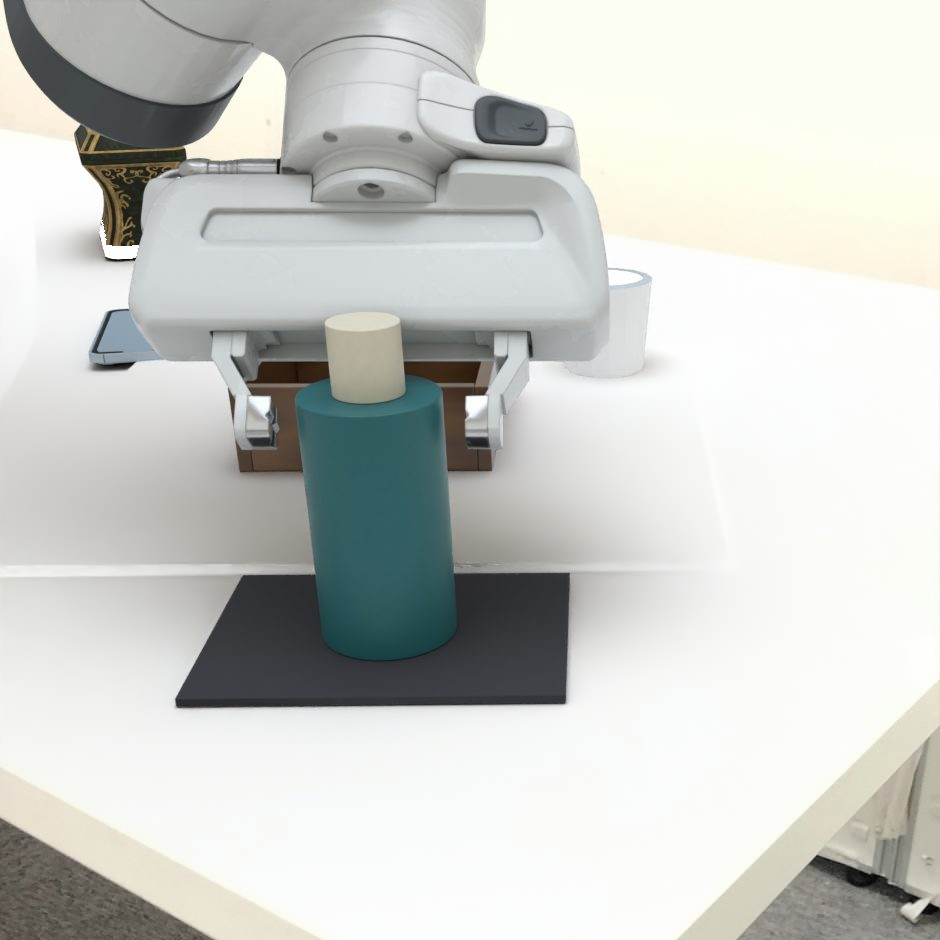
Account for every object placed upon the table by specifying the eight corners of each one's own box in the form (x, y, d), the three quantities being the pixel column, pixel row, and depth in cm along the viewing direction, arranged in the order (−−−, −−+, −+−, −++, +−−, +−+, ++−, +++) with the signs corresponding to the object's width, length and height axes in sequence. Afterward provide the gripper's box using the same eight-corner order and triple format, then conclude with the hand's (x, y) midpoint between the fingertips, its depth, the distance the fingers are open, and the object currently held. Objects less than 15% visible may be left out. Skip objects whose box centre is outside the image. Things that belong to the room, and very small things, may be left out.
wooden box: (240, 481, 77) (227, 387, 75) (290, 403, 90) (281, 321, 88) (492, 480, 78) (488, 386, 75) (506, 402, 91) (503, 320, 88)
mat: (176, 707, 55) (174, 698, 54) (243, 581, 65) (242, 574, 65) (565, 703, 55) (565, 694, 55) (569, 579, 66) (569, 572, 66)
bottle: (311, 662, 57) (271, 340, 51) (334, 600, 63) (301, 302, 56) (450, 661, 57) (429, 340, 51) (462, 599, 63) (444, 302, 56)
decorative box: (204, 258, 130) (173, 37, 121) (99, 266, 127) (59, 39, 117) (183, 222, 146) (154, 25, 137) (90, 228, 143) (54, 26, 134)
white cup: (668, 379, 96) (670, 281, 92) (584, 393, 93) (582, 291, 89) (622, 356, 101) (622, 262, 98) (541, 368, 98) (538, 271, 95)
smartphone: (200, 305, 110) (193, 349, 97) (201, 316, 111) (194, 362, 98) (105, 309, 109) (86, 355, 96) (107, 321, 109) (88, 368, 96)
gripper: (123, 112, 56) (89, 409, 52) (609, 115, 57) (612, 408, 53) (169, 203, 62) (142, 476, 58) (608, 205, 63) (611, 474, 59)
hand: (370, 444), depth 55 cm, fingers open, 8 cm apart
